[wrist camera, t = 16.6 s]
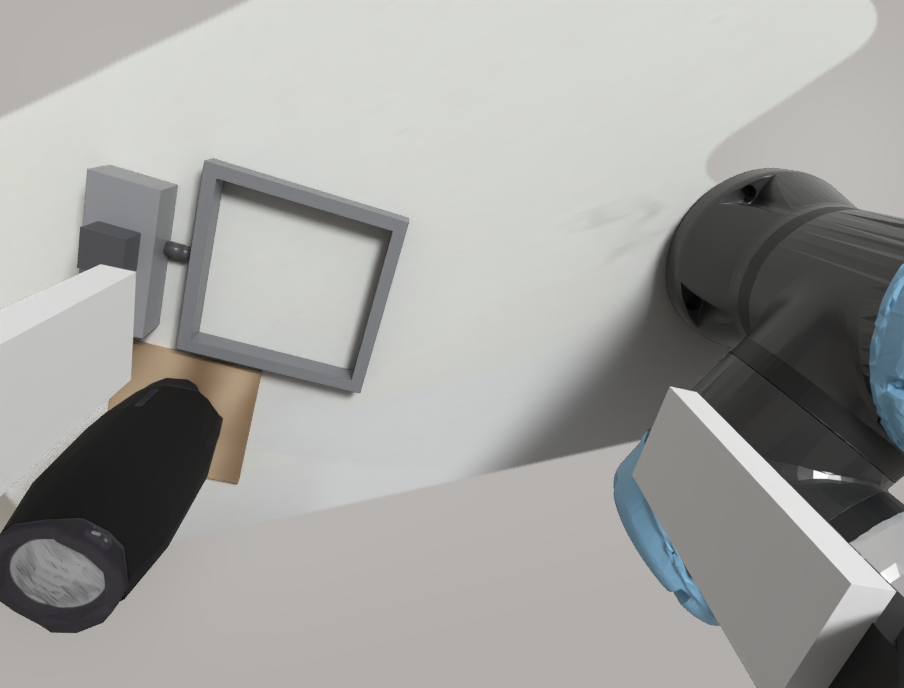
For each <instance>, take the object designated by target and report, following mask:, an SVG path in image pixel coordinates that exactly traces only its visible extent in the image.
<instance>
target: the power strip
mask: <svg viewBox="0 0 904 688" xmlns="http://www.w3.org/2000/svg"><path fill="white" fill-rule="evenodd" d="M177 188H178V185H176V184H173V183H169V182H166V181H163V180H159V179H156V178H152V177H149V176H146V175H142V174H139V173H135V172H132V171H129V170H125V169H122V168H118V167H115V166H112V165H107V166H101V167H96V168H90V169H87V179H86V192H85V205H84V218H83V226H82V227H80V238H79V251H78V264H77V268H80V269H79V274H80V273H82V272H84V271H87V270H89V269H91V268H93V267H96V266H98V265H100V264H102V265H106V266H111V267H116V268H120V269H125V270H130V271H134V272H136V286H135V307H134V328H133V337H137V338H141V339H143V338H144V337H145V336H146V335H147V334H149V333H150V332H151V331H152V330H153V329H155V328H156V327H157V326H158V325H159V322H160V314H161V307H162V299H163V292H164V285H165V277H166V270H167V262H168V256H166V255H164V253H163V251H164V246H165V243H166V242H167V241H170V240H171V233H172V225H173V218H174V211H175V203H176V196H177Z"/></svg>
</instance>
